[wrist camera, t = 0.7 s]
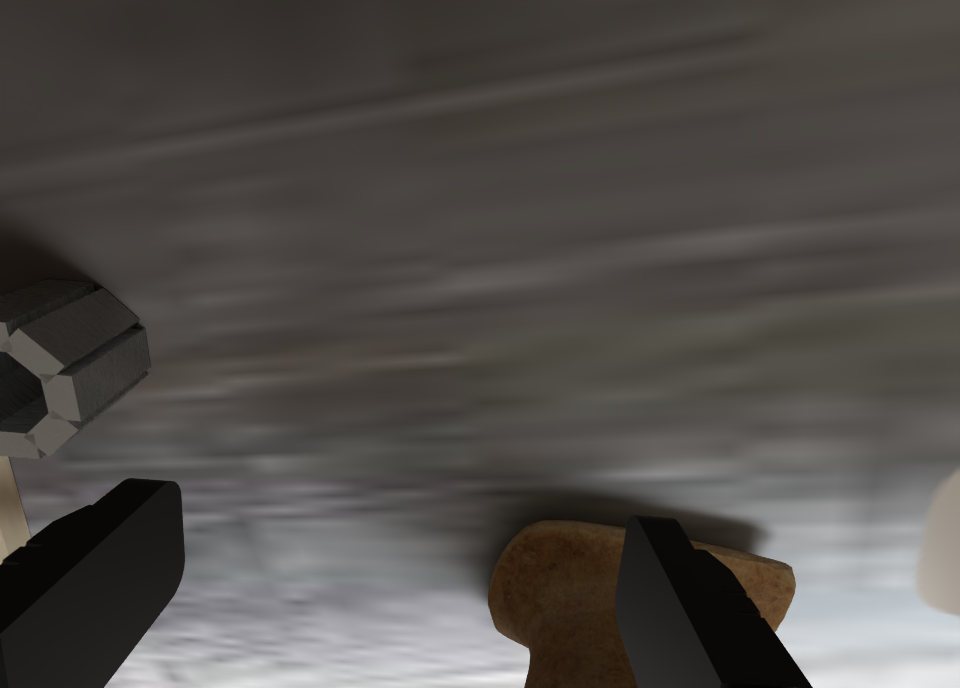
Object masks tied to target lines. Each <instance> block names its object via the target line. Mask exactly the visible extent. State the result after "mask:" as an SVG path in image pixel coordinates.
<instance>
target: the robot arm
mask: <svg viewBox="0 0 960 688" xmlns="http://www.w3.org/2000/svg"><path fill="white" fill-rule="evenodd" d="M184 564H185V551H184V533H183V516H182V498H181V491H180V487H179V485H178V484H177V483H176V482H174V481H163V480H149V479H135V478H129V479H126V480H124V481H123V482H121V483H120V484H119V485H117V486H116V487H115V488H114V489H112V490H111V491H110V492H109V493H107V494H106V495H105V496H104V497H102V498H101V499H100V500H99V501H97V502H96V503H95V504H93V505H88V506H85V507H83V508H81V509H79V510H77V511H75V512H73V513H70V514H68V515H66V516H64V517H62V518H60V519H57V520H55V521H53V522H52V523H51V524H49V525H48V526H47V527H45V528H44V529H43V530H41V531H40V532H39V533H37V534H36V535H35V536H33V537H32V538H31V539H30V540H28V541H27V542H26V545H25V547H24V546H20V547H19V548H18V549H16V550H15V551H14V552H12V553H11V554H10V555H8V556H7V557H6V558H4V559H3V562H2V564H1V565H0V688H104V687H105V685H106V684H107V683H108V681H109V680H110V679H111V678H112V676H113V675H114V674H115V672H116V671H117V670H118V668H119V667H120V666H121V664H122V663H123V662H124V661H125V659H126V658H127V657H128V655H129V654H130V653H131V651H132V650H133V649H134V647H135V646H136V645H137V644H138V642H139V641H140V640H141V638H142V637H143V636H144V634H145V633H146V632H147V630H148V629H149V628H150V627H151V625H152V624H153V623H154V621H155V620H156V619H157V617H158V616H159V615H160V613H161V612H162V611H163V610H164V608H165V607H166V606H167V604H168V603H169V602H170V600H171V599H172V598H173V596H174V595H175V593H176V591H177V589H178V587H179V584H180V582H181V578H182V575H183V571H184ZM615 611H616V619H617V624H618V628H619V632H620V635H621V638H622V641H623V644H624V647H625V650H626V653H627V655H628V658H629V661H630V664H631V667H632V670H633V673H634V676H635V679H636V682H637V685H638V688H813V687H812V686H811V684H810V683H809V682H808V680H807V679H806V677H805V676H804V674H803V673H802V671H801V670H800V669H799V667H798V666H797V664H796V663H795V661H794V660H793V658H792V657H791V656H790V654H789V653H788V651H787V650H786V648H785V647H784V645H783V644H782V643H781V641H780V640H779V638H778V637H777V635H776V634H775V632H774V631H773V630H772V628H771V627H770V625H769V624H768V622H767V621H766V619H765V618H761V612H760V611H759V609H758V608H757V607H756V605H755V604H754V602H753V601H752V599H751V598H749V597H747V592H746V591H745V589H744V588H743V586H742V585H741V583H740V582H739V581H738V579H737V578H736V576H735V575H734V573H733V572H732V570H731V569H729V568H728V567H727V566H726V565H724V564H723V563H722V562H721V561H719V560H718V559H717V558H716V557H714V556H713V555H712V554H711V553H709V552H708V551H707V550H703V549H695V548H694V547H693V545H692V544H691V542H690V540H689V539H688V537H687V536H686V534H685V532H684V531H683V529H682V528H681V526H680V525H679V523H678V522H677V520H675V519H673V518H661V517H647V516H631V517H630V519H629V521H628V523H627V527H626V532H625V538H624V544H623V550H622V556H621V562H620V567H619V573H618V579H617V585H616V592H615Z"/></svg>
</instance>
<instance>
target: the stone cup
mask: <svg viewBox="0 0 960 688" xmlns="http://www.w3.org/2000/svg"><path fill="white" fill-rule="evenodd" d="M625 532H626V528H623V527H617V526H610V525H603V524H596V523H589V522H582V521H575V520H551V521H550V520H542V521H539V522H535V523H532V524H529V525H527V526H526V527H524V528H523V529H521V530H520V531H519V532H518V533H517V534H516V535H515V536H514V537H513V538H512V540H511V541H510V542H509V543H508V545H507V546H506V548H505V549H504V550H503V552H502V553H501V555H500V557H499V559H498V561H497V563H496V566H495V568H494V571H493V575H492V578H491V582H490V587H489V594H488V606H489V609H490V613H491V616H492V620H493V622H494V625H495V628H496V629H497V630H498V632H500V633H501V634H503V635H504V636H506V637H507V638H509V639H511V640H513V641H515V642H517V643H519V644H521V645H523V646H525V647H527V648H529V651H530V665H529V671H528V675H527V679H526V683H525V687H524V688H638V685H637V682H636V679H635V676H634V673H633V670H632V667H631V664H630V661H629V658H628V655H627V653H626V650H625V647H624V644H623V641H622V638H621V635H620V632H619V628H618V624H617V619H616V611H615V592H616V585H617V579H618V573H619V567H620V562H621V556H622V550H623V544H624V538H625ZM690 542H691V544H692V545H693V547H694V548H695V549H703V550H707V551H708V552H709V553H711V554H712V555H713V556H714V557H716V558H717V559H718V560H719V561H721V562H722V563H723V564H724V565H726V566H727V567H728V568H729V569H731V570H732V572H733V573H734V575H735V576H736V578H737V579H738V581H739V582H740V583H741V585H742V586H743V588H744V589H745V591H746V592H747V597H749V598H751V599H752V601H753V602H754V604H755V605H756V607H757V608H758V609H759V611H760V612H761V618H765V619H766V621H767V622H768V624H769V625H770V627H771V628H772V630H773V631H774V632H775V631H776V630H777V628H778V626H779V625H780V623H781V622H782V620H783V619H784V617H785V614H786V612H787V610H788V608H789V606H790V604H791V602H792V599H793V596H794V594H795V587H796V583H795V577H794V574H793V570H792V567H791V566H789V565H787V564H786V563H783V562H780V561H776V560H773V559H769V558H765V557H761V556H757V555H754V554H750V553H746V552H742V551H738V550H734V549H729V548H725V547H720V546H715V545H711V544H706V543H702V542H697V541H692V540H690Z"/></svg>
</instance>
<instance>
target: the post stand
mask: <svg viewBox="0 0 960 688" xmlns="http://www.w3.org/2000/svg"><path fill="white" fill-rule="evenodd" d="M30 539H31V537H30V533H29V529H28V526H27V522H26V519H25V515H24V511H23V508H22V504H21V501H20V497H19V494H18V490H17V486H16V483H15V479H14V476H13V472H12V469H11V465H10V461H9V458H8V457H7V456H0V565H1V564H2V562H3V559H4V558H6V557H7V556H8V555H10V554H11V553H12V552H14V551H15V550H16V549H18V548H19V547H20V546H24V547H25V545H26V542H27V541H28V540H30Z"/></svg>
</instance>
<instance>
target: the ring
mask: <svg viewBox="0 0 960 688" xmlns="http://www.w3.org/2000/svg"><path fill="white" fill-rule="evenodd" d="M139 320H140V319H138V318H137V317H136V316H135V315H134V314H133V313H132V312H131V311H129V310H128V309H127V308H126V307H125V306H124V305H123V304H122V303H120V302H119V301H118V300H117V299H116V298H115V297H114V296H113V295H111V294H110V293H109V292H108V291H107V290H106V289H105V288H102V289H100V290H98V291H96V292H95V288H94V283H87V282H77V281H66V280H56V279H46V280H44V281H41V282H37V283H34V284H32V285H29V286H27V287H24V288H22V289H19V290H16V291H14V292H11V293H9V294H6V295H4V296H1V297H0V456H7V457H19V458H32V459H41V458H42V457H43V456H45V455H46V454H47V455H48V456H51V455H52V454H53V453H54V452H56V451H57V450H58V449H59V448H61V447H62V446H63V445H64V444H66V443H67V442H68V441H69V440H71V439H72V438H73V437H74V436H76V435H77V434H78V433H79V432H81V431H82V430H83V429H84V428H86V427H87V426H88V425H89V424H90V423H92V422H93V421H94V420H95V419H97V418H98V417H99V416H100V415H102V414H103V413H104V412H105V411H107V410H108V409H109V408H110V407H112V406H113V405H114V404H115V403H117V402H118V401H119V400H120V399H122V398H123V397H124V396H125V395H126V394H127V393H128V392H129V391H131V390H132V389H133V388H134V387H135V386H136V385H137V384H138V383H139V382H140V381H142V380H143V379H144V378H145V377H146V376H147V375H148V374H147V373H146V372H145V371H146V370H148V369H149V368H150V367H151V366H150V359H149V352H148V346H147V339H146V332H145V328H134V327H133V326H134V325H135V324H136V323H137V322H138V321H139Z"/></svg>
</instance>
